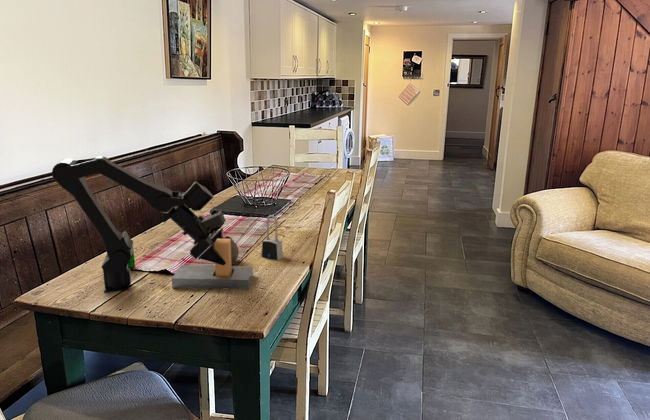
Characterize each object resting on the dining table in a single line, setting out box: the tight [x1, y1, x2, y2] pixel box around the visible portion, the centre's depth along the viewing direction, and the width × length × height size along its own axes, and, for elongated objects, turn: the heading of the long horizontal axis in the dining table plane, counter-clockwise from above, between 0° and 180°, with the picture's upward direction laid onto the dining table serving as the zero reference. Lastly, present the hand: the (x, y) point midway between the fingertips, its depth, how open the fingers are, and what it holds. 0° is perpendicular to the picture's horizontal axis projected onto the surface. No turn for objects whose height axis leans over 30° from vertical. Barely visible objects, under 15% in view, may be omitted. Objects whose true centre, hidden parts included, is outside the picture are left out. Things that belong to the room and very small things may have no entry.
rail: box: [171, 264, 254, 290], centre depth 144 cm, size 22×10×3 cm, turn 91°
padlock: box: [260, 214, 284, 261], centre depth 162 cm, size 7×4×15 cm, turn 65°
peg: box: [214, 239, 233, 276], centre depth 142 cm, size 4×4×13 cm
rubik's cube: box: [127, 249, 136, 269], centre depth 152 cm, size 6×6×6 cm
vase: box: [223, 235, 239, 265], centre depth 157 cm, size 7×7×9 cm
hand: (227, 258), depth 142 cm, fingers open, 9 cm apart
